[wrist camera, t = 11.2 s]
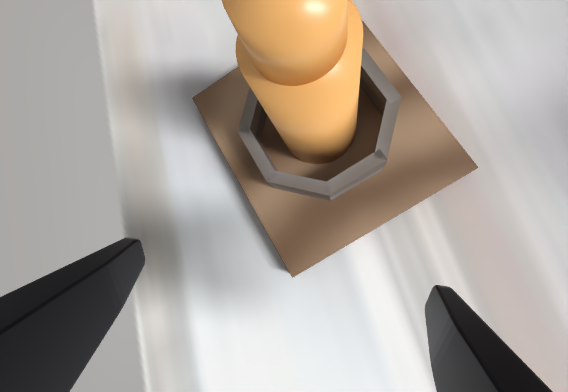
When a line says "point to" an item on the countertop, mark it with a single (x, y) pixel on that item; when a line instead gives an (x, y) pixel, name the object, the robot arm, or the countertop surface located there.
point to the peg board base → (336, 161)
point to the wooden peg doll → (303, 69)
